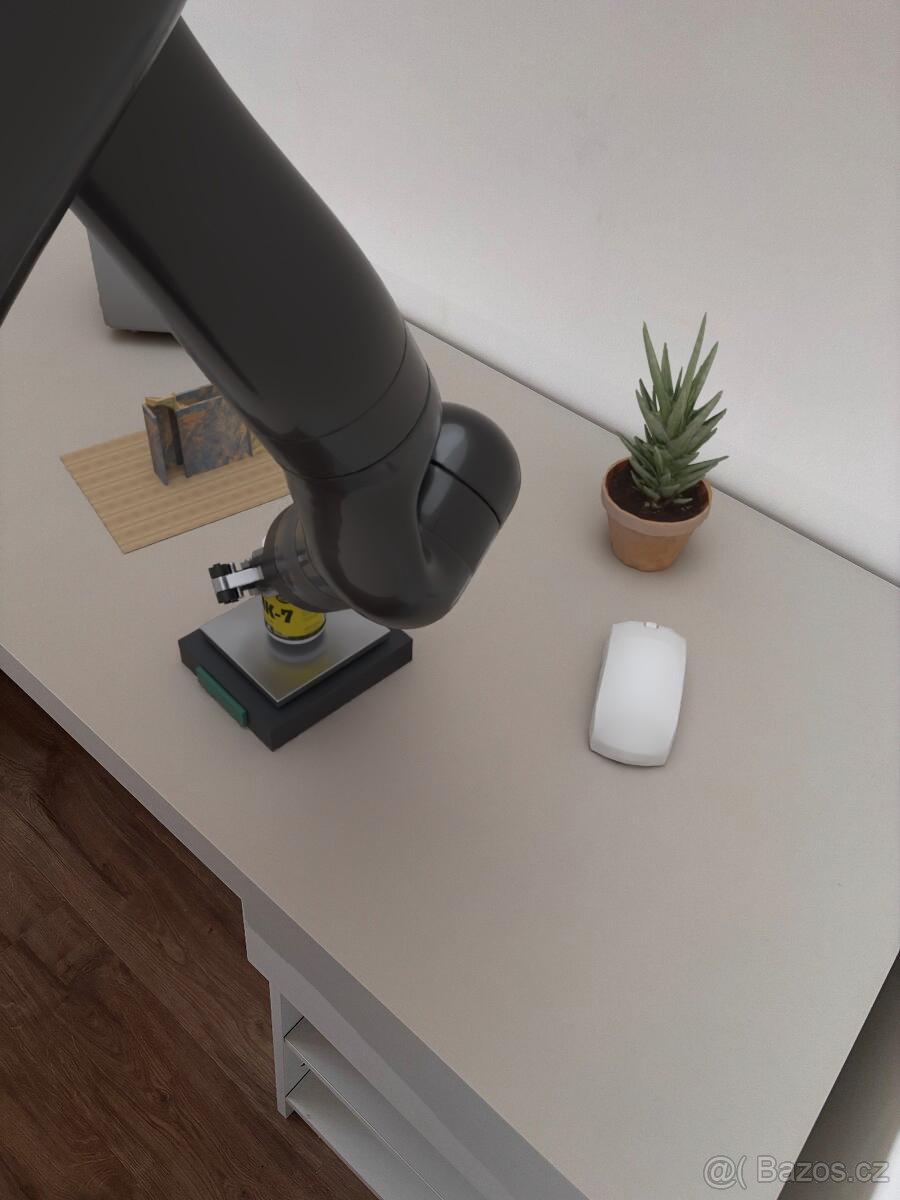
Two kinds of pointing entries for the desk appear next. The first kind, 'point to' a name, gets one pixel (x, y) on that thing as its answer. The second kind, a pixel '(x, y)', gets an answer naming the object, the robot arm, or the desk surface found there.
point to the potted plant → (663, 466)
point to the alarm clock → (121, 295)
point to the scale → (301, 710)
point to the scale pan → (289, 649)
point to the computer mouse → (638, 694)
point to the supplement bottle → (290, 620)
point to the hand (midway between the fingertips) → (284, 570)
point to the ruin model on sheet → (176, 470)
